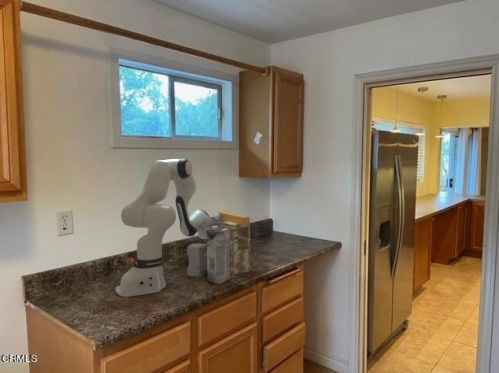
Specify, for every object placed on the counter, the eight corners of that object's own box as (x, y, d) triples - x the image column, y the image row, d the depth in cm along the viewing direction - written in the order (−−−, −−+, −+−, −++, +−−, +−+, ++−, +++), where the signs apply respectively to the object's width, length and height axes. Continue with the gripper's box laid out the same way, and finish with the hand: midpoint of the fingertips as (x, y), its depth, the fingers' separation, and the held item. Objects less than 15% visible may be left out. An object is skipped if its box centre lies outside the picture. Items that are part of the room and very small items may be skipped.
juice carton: (232, 279, 187) (231, 225, 185) (219, 285, 178) (218, 229, 176) (217, 276, 191) (217, 224, 189) (204, 282, 183) (204, 227, 180)
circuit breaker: (214, 277, 190) (213, 248, 189) (187, 275, 193) (187, 246, 192) (218, 272, 198) (218, 244, 196) (192, 271, 201) (192, 243, 199)
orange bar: (243, 225, 190) (243, 217, 190) (218, 219, 209) (218, 212, 209) (249, 224, 192) (249, 216, 192) (224, 218, 212) (224, 211, 211)
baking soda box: (231, 254, 234) (231, 229, 233) (224, 252, 238) (224, 227, 237) (242, 251, 241) (242, 226, 239) (235, 250, 245) (235, 225, 244)
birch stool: (231, 275, 194) (231, 225, 192) (221, 270, 202) (220, 222, 200) (250, 270, 201) (250, 222, 199) (240, 266, 209) (239, 219, 207)
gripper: (196, 221, 213) (207, 211, 202) (227, 217, 224) (238, 208, 214) (199, 231, 210) (210, 222, 200) (230, 227, 222) (242, 218, 212)
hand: (225, 215), depth 207 cm, fingers closed on orange bar, 4 cm apart
